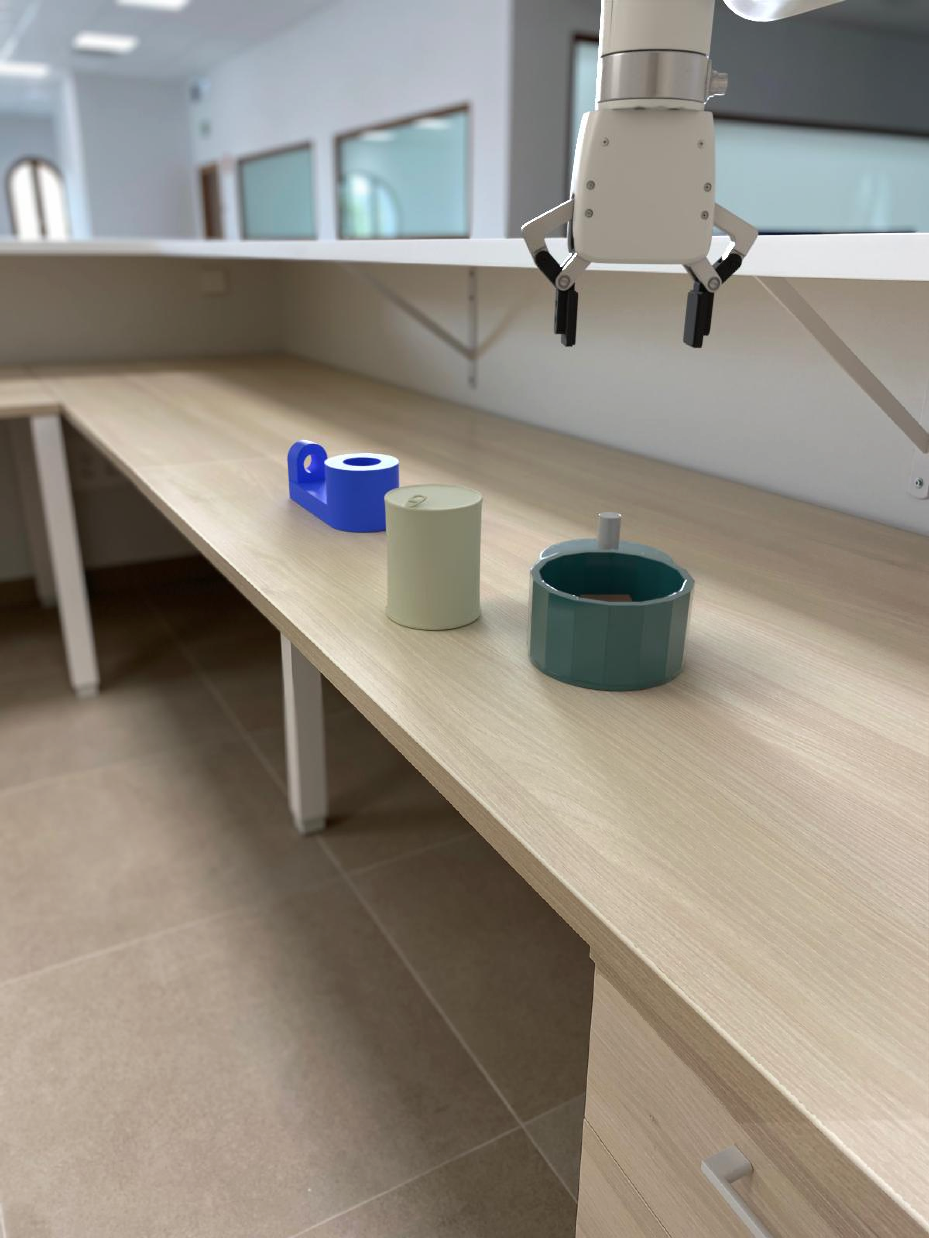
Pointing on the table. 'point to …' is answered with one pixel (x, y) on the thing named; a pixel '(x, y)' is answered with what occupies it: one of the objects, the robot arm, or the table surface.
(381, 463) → the bracket
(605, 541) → the lid
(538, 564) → the bowl
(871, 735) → the table surface
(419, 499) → the can
